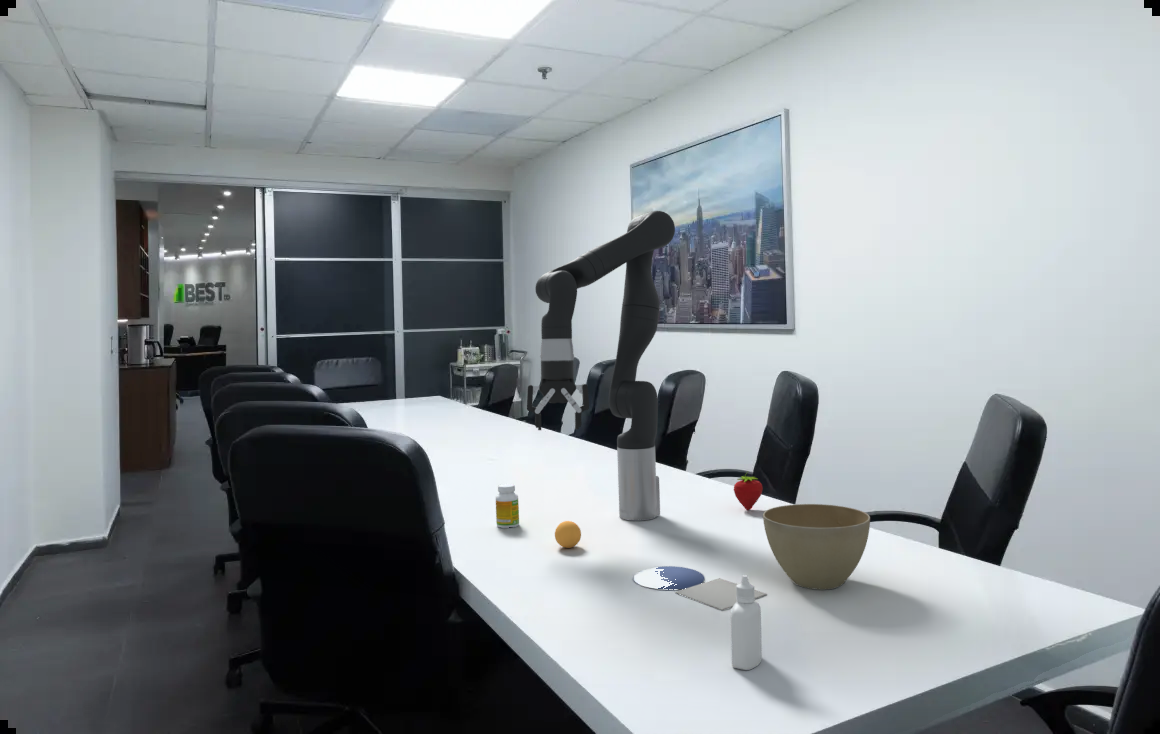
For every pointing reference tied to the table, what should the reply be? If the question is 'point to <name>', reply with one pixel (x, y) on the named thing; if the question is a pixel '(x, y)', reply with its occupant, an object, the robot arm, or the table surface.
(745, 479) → the strawberry
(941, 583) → the table surface
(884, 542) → the table surface
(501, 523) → the supplement bottle
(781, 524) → the beige bowl
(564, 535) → the ball
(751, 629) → the eye dropper bottle
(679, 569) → the disc
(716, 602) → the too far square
